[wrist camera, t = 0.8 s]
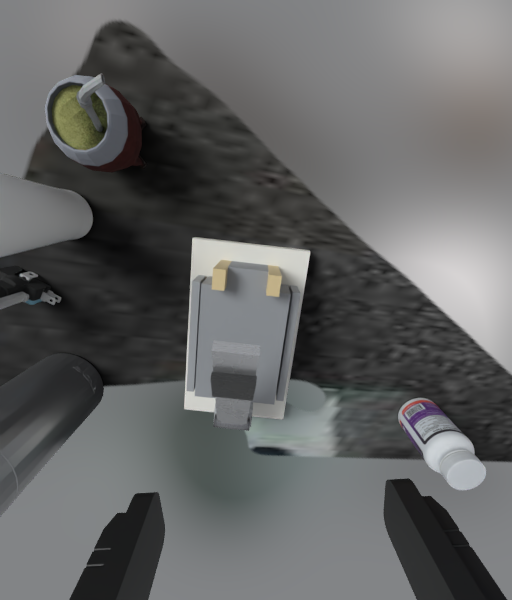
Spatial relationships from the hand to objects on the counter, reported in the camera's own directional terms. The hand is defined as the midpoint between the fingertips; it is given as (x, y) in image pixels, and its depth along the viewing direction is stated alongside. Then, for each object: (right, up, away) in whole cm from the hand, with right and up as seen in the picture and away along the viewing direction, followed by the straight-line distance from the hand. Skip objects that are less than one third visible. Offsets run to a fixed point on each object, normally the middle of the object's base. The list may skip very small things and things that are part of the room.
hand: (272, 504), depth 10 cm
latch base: (-2, +3, +26) cm, 26 cm away
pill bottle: (+21, -8, +29) cm, 37 cm away
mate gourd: (-14, +24, +20) cm, 34 cm away
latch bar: (-3, -1, +17) cm, 17 cm away
